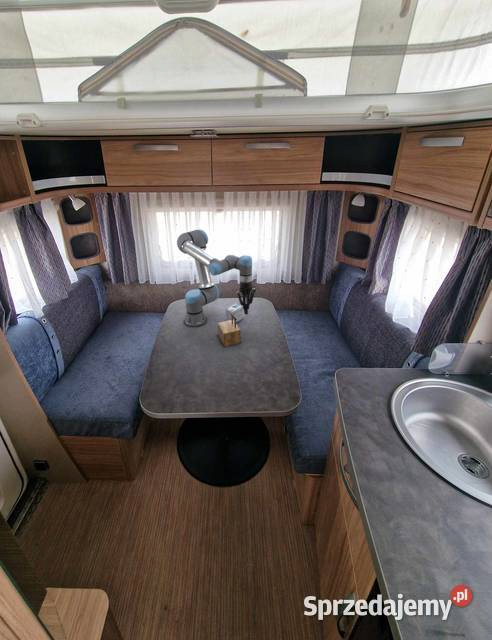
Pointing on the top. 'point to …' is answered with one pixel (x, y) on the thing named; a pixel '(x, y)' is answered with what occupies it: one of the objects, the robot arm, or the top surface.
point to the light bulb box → (234, 312)
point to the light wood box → (229, 332)
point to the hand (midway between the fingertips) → (246, 313)
